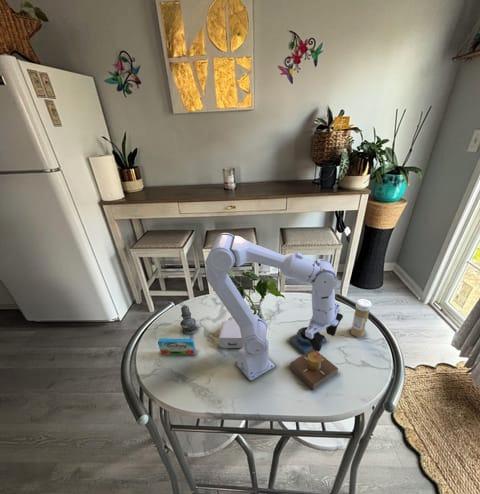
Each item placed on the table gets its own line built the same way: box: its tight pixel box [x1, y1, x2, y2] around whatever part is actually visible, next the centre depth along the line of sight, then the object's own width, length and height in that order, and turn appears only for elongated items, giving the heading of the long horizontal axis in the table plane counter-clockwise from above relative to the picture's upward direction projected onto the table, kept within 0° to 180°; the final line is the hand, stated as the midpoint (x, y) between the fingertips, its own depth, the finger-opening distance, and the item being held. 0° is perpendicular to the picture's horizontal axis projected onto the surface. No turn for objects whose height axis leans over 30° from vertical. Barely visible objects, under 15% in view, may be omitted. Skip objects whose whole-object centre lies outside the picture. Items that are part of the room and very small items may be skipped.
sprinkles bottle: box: [350, 298, 372, 338], centre depth 93 cm, size 5×5×14 cm
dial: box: [307, 352, 322, 370], centre depth 82 cm, size 4×4×4 cm
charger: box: [218, 316, 244, 349], centre depth 99 cm, size 5×9×15 cm
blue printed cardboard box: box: [157, 337, 197, 356], centre depth 92 cm, size 12×2×6 cm, turn 85°
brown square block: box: [289, 349, 339, 391], centre depth 83 cm, size 10×10×3 cm
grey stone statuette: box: [179, 304, 198, 335], centre depth 101 cm, size 6×6×12 cm
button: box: [301, 326, 308, 339], centre depth 93 cm, size 4×4×2 cm
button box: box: [288, 326, 327, 355], centre depth 94 cm, size 10×8×4 cm
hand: (323, 341), depth 80 cm, fingers open, 7 cm apart
